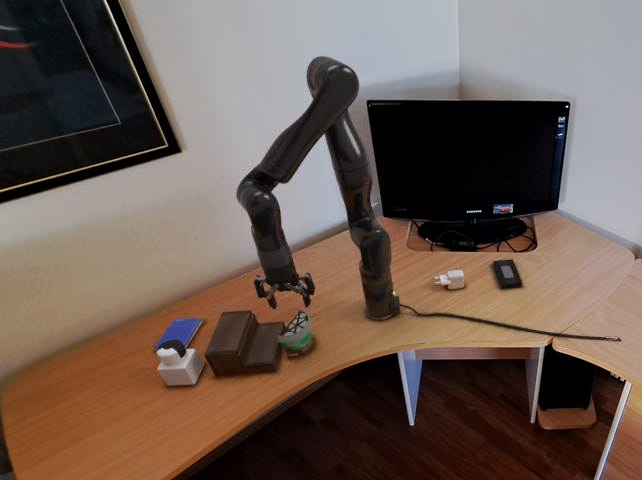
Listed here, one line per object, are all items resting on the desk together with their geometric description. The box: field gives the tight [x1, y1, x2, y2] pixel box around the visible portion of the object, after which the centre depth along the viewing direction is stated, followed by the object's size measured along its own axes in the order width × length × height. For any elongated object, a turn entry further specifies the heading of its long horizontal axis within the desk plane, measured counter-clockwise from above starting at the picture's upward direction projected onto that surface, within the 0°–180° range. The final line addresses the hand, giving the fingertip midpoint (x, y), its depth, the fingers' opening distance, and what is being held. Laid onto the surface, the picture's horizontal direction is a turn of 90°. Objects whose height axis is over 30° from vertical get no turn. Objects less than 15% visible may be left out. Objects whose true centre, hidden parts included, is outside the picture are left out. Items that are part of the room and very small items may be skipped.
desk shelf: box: [203, 309, 287, 378], centre depth 128 cm, size 16×17×9 cm
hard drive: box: [153, 318, 204, 352], centre depth 134 cm, size 2×8×12 cm
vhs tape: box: [492, 258, 523, 290], centre depth 162 cm, size 8×14×2 cm, turn 11°
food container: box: [278, 308, 314, 359], centre depth 130 cm, size 12×6×10 cm, turn 168°
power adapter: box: [431, 269, 465, 290], centre depth 155 cm, size 11×5×6 cm, turn 102°
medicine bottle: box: [155, 340, 205, 387], centre depth 120 cm, size 7×7×12 cm
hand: (291, 306), depth 122 cm, fingers open, 8 cm apart
